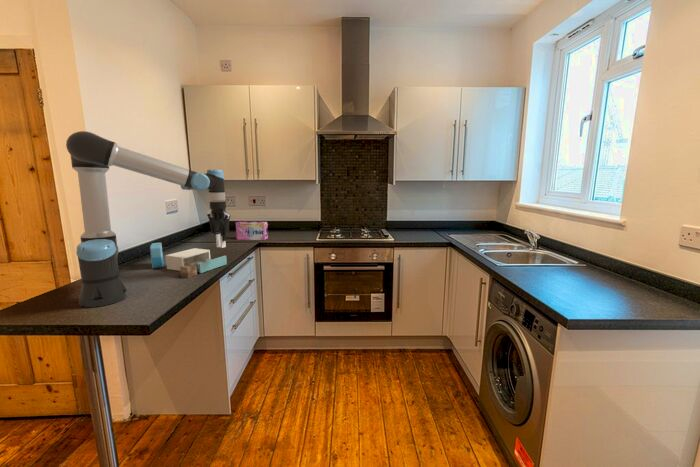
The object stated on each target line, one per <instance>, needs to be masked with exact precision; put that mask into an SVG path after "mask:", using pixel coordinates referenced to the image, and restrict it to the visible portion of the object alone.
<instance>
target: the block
mask: <svg viewBox="0 0 700 467" xmlns="http://www.w3.org/2000/svg"><path fill="white" fill-rule="evenodd" d="M179 272H180V277H182V278H188V279H189V278H192V277H194V276H197V275H198V271H197V268H196V265H192V264H187V265H184V266H181V267H180V271H179Z"/></svg>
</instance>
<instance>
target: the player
mask: <svg viewBox="0 0 700 467" xmlns="http://www.w3.org/2000/svg"><path fill="white" fill-rule="evenodd" d="M164 256H165V263H166V269H167V270H174V271H179V272H181V271H180V267H181V266H184V265H187V264H191V263H195V262H197V261H200V260H205V259H211V250H210V249H205V248H196V247H195V248H194V247H193V248H190V249H187V250H181V251H177V252H174V253H169V254H166V255H164Z"/></svg>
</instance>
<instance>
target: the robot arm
mask: <svg viewBox="0 0 700 467" xmlns="http://www.w3.org/2000/svg"><path fill="white" fill-rule="evenodd" d="M65 142H66V143H65V147H66V150H67V152H68V153H69V155H70V160H71V161H70V162H71V168H72V169H73V170H74V171H76V172H77V177H78V186H79V187H78V188H79V193H80V202H81V203H80V204H81V211H82V219H83V228H84V232H83V233H82V234H81V235H80V236H79V237H80V243H78V245H77V246H76V252H75V254H76V256H77V259H78V265H79V273H80V279H81V288H80V292H79V296H78V304H79V306H80V307H82V306H84V307H83V308H95V307H96V308H98V307H103V306H108V305H111V304H114V303H118V302H121V301H124V300H125V299H126V298H128V296H129V295H128V289H127V288H126V286H125V284H124V282H123V281H122V280H121V277H120V270H119V261H118V255H119V246H118V243H117V241H118V240H117V233H115V231H112V226H111V216H110V208H109V207H110V206H109V199H108V188H107V187H108V186H107V180H106V179H107V178H106V173H107V172H108V171H110V167H112V166H114V167H116V168H117V167H118V168H121V169H125V170H128V171H131V172H134V173H137V174H141V175H145V176H148V177H151V178H155V179H158V180H161V181H165V182H169V183H171V184H175V185H178V186H180V189H181V190H183V191H184V190H185V191H187V190H188V191H190V190H191V191H192V190H194V191H198V192H203V191H205V190H206V191H207V190H208V199H209V209H210V210H211V212H210V213H207V215H206V216H207V218H208V221H209V227H210V228H209V229H210V233H211V234H214V240H215V244H216V245H215V246H216V248H221V249H222V248H226V247H227V245H226V244H227V243H226V242H227V235H228V234H230V219H231V217H232V216H231V214H228V213H227V211H226V209H227V202H226V189H225V186H226V185H225V174H224V171H223V170H222V169H207V170H206V173H202V172H197V171H194V170H191V169H188V168H185V167H183V166H179V165H176V164H173V163H170V162H167V161H164V160H160V159H157V158H155V157H152V156H149V155H145V154H143V153H140V152H137V151H134V150H130V149H127V148H124V147H121V146H119V145H118V143H117V142H115V141H112V140H109V139H106V138H105V137H102V136H100V135H98V134H96V133H93V132H90V131H76V132H73V133H72V134H70V135H69V137H67V139H66V141H65ZM97 306H98V307H97Z"/></svg>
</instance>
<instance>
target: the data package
mask: <svg viewBox="0 0 700 467" xmlns="http://www.w3.org/2000/svg"><path fill="white" fill-rule="evenodd" d="M149 251H150V259H151V260H150V261H151V268H152V269H160V268H163V267H164V253H163V246H162V242H154V243H153V242H152V243H151V244H150V246H149Z"/></svg>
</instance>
